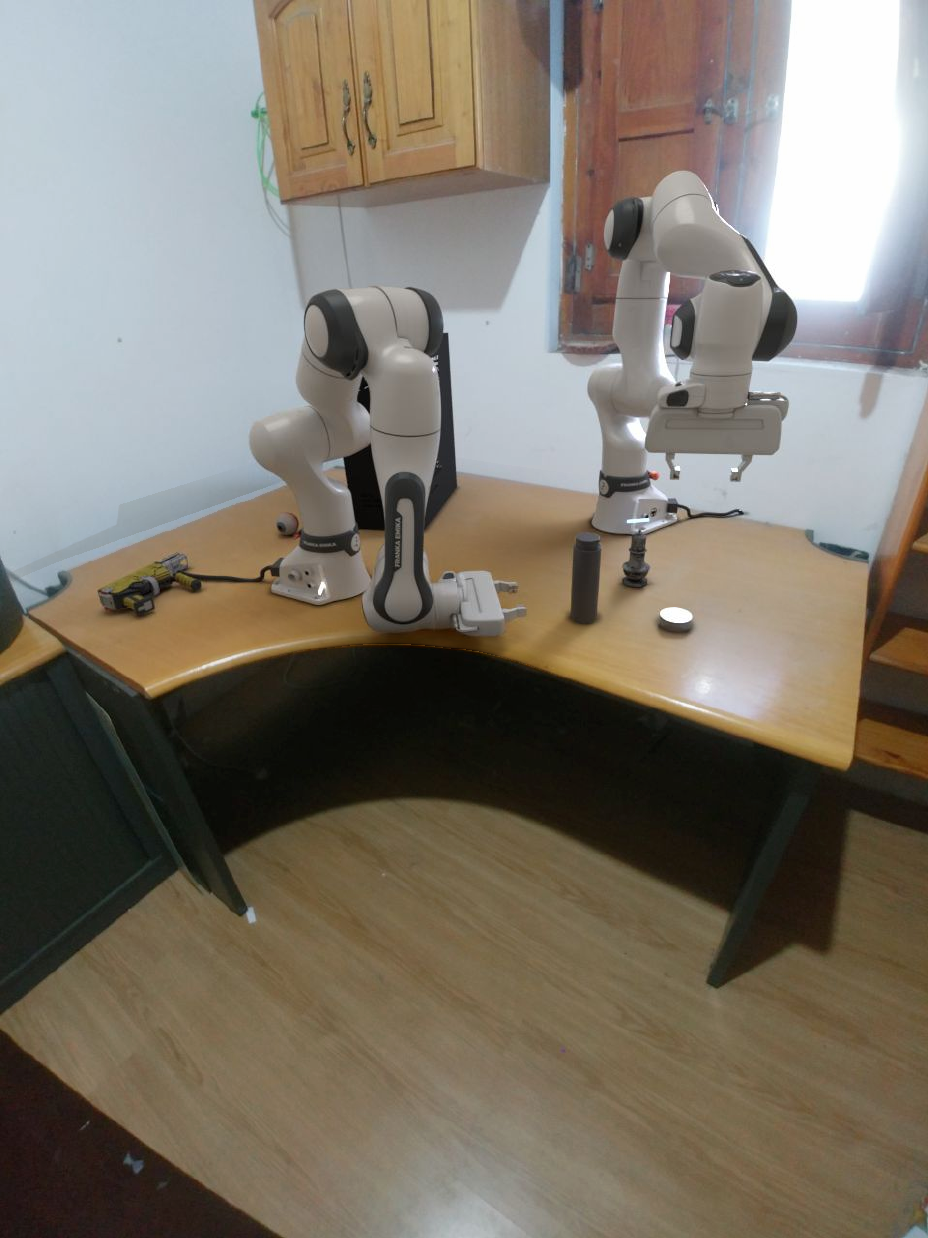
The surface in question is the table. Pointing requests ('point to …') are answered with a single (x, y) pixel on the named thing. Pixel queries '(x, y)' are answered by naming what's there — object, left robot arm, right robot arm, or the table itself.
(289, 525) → the eyeball
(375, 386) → the left robot arm
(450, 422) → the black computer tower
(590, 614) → the grey tall cylinder
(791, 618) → the table surface
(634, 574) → the dark grey chess piece
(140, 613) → the toy gun
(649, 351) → the right robot arm
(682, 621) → the lid
